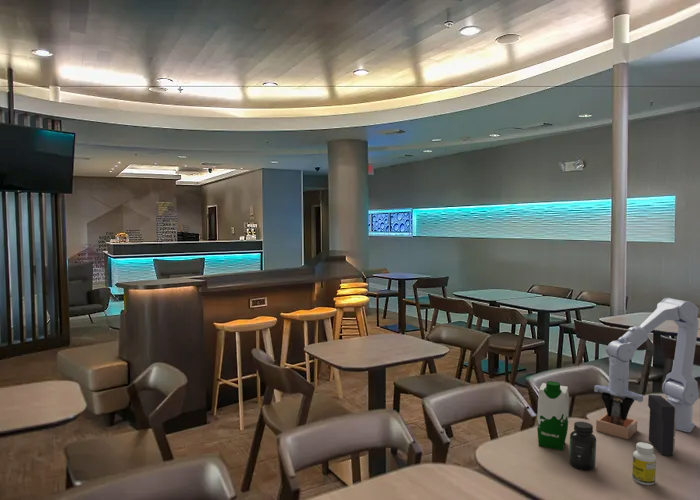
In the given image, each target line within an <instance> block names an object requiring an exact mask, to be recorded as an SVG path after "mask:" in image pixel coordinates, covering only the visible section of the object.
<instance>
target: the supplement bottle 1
mask: <svg viewBox="0 0 700 500" xmlns="http://www.w3.org/2000/svg"><path fill="white" fill-rule="evenodd" d="M593 432H594V425H593V424H592V423H589V422H586V421H575V422H574V424H573V431H572V432H571V433H570V434H569V452H568V453H569V454H568V455H569V456H568V457H569V458H568V459H569V461H568V462H569V465H570V466H571V467H572V468H575V469H577V470H580V471H585V472H588V471H593V470H595V468H596V459H597V458H596V456H597V438H596V436H595V435H594V434H593Z"/></svg>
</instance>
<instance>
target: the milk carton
mask: <svg viewBox="0 0 700 500" xmlns="http://www.w3.org/2000/svg"><path fill="white" fill-rule="evenodd" d="M569 401H570V395H569V387H568V386H565V385H561V383H560V382H559V381H546V383H545V382H542V383H541V385H540V387H539V390H538V399H537V424H536V425H537V426H536V427H537V429H536V430H537V440H538V442H537V443H538V447H543V448H548V449H553V450H557V451H563V450H564V448H565V442H566V440H567V439H566V438H567V435H568V429H569V408H570V405H569V404H570V403H569Z"/></svg>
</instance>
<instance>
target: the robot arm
mask: <svg viewBox="0 0 700 500" xmlns="http://www.w3.org/2000/svg"><path fill="white" fill-rule="evenodd" d="M699 310H700V309H699V307H698V306H697V305H696V304H695V303H694V302H692V301H689V300H682V299H676V298H672V297H665V298H663V299H662V300H661V301H660V302H658V303H657V305H656V308H655V310H654V311H653V312H652V313H650V315H648V317H647V318H646V319H645V320H644V321H643V322H642V323H641V324H640V325H638V326H630V327H629V328H628V330H627V331H626V332H625V333H624V334H623V335H622V336H619V338H618V339H617V340H612V341H611V342H609V343H608V345H607V347H606V348H605V352H606V355H608V356H607V357H608V361H609V369H608V370H609V371H608V372H609V373H608V386H606V385H598V384H596V385H594V389H593V390H594V392H595V393H601V395H600V396H601V397H600V398H601V399H602V402H603V404H604V406H605V408H606V409H605V410H606V413H607V414H608V416H609V417H610V414H611V400H612V399H614V396H615V397H619V398H623V399H621V400H622V403H623V416H622V419H623V420H626V419H627V418H628V414H629V412H630V410H631V408H632V406H633V404H634V402H635V401H637V402H638V403H642V402H643V401H644V394H639V393H636V392H633V391H630V390H629V377H630V376H629V374H630V373H629V371H630V360H632V359H633V358H634V356H635V353H636V351H637V349H638V348H639V347H640V346H641V345H643V344H644V343H645V342H646V341H647V340H648V337H649V336H648V335H649V334H650V333H651V332H653V331H654V330H655V329H657V328H658V327H659V326H661V325H662V324H663V323H665V322H666V321H673V322H674V323H675V325H677V327H678V328H677V337H676V343H675V344H676V345H675V351H674V358H673V364H672V371H671V372H669V373H667V374H666V376H665V379H664V382H662V388H661V389H662V392H663V394H664V395H665V399H666V400H667V401H668V402H669V403H670V404H671V405H673V406H674V407H675V409H676V411H675V420H674V421H675V422H676V426H675V431H676V430H677V431H681V432H684V433H688V434H689V433H691V432H692V430H693V429H694V428H695V427H696V424H697V423H693V411H694V407H693V405H695V403H696V402H698V399H699V395H700V392H699V388H698V384H699V383H698V381H697V380H696V379H695V377H694V376H693V369H694V368H693V366H694V359H695V353H696V344H697V337H698V331H699V330H698V329H699V320H698V315H699Z"/></svg>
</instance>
